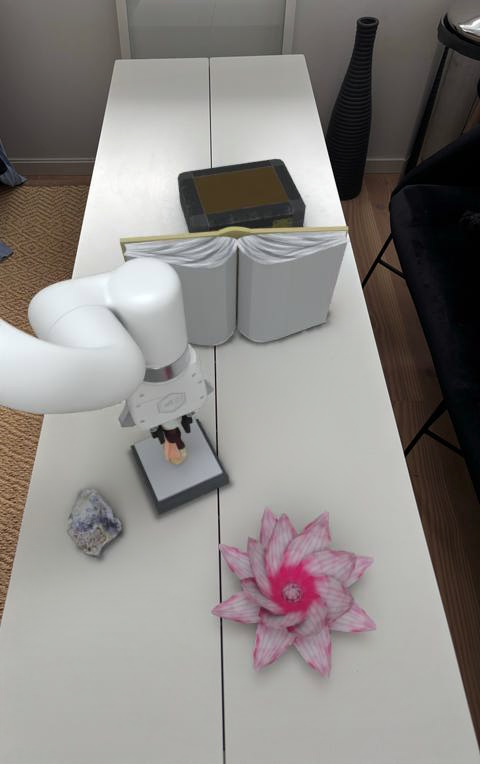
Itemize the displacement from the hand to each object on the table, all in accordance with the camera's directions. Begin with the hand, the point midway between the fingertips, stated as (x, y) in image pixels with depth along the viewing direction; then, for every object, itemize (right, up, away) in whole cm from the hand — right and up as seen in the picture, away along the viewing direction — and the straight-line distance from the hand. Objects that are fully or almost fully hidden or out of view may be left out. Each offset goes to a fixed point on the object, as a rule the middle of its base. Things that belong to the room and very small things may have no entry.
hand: (172, 430), depth 79 cm
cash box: (+10, +45, +47) cm, 66 cm away
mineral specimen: (-12, -15, +5) cm, 20 cm away
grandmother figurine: (0, -5, +6) cm, 8 cm away
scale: (0, -7, +10) cm, 12 cm away
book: (+9, +17, +27) cm, 34 cm away
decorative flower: (+17, -24, -1) cm, 30 cm away
